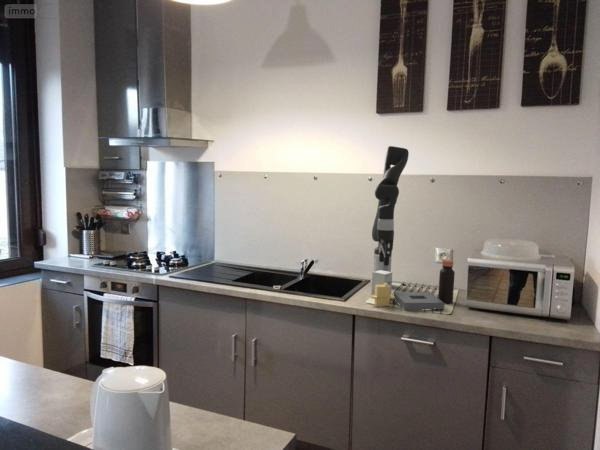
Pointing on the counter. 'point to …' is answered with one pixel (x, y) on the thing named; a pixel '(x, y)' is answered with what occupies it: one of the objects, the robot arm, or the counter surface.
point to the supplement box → (381, 279)
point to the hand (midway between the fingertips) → (383, 263)
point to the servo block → (382, 295)
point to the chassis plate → (418, 300)
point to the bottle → (446, 282)
